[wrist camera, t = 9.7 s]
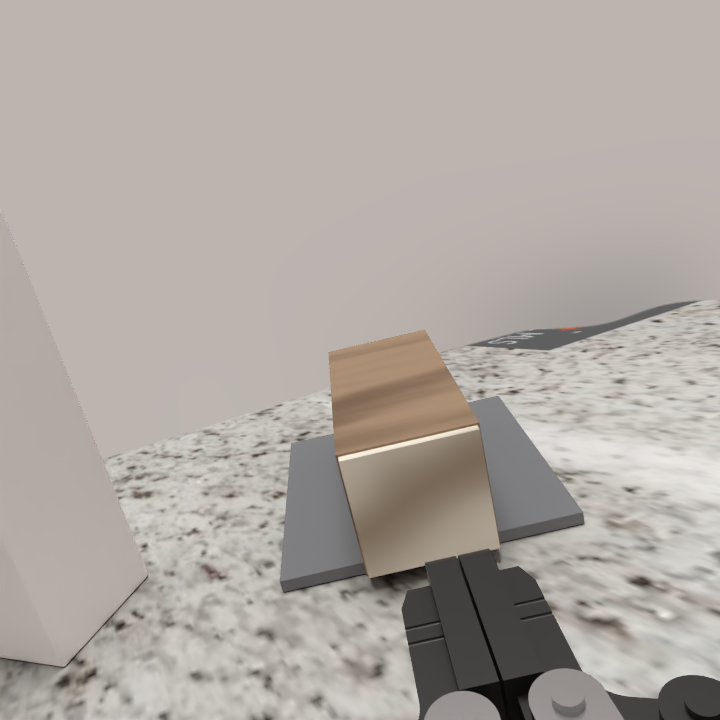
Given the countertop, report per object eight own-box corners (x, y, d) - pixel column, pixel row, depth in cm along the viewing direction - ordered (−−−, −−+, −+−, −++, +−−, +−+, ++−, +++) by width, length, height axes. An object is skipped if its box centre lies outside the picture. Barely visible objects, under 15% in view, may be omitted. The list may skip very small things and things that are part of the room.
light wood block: (481, 426, 25) (424, 329, 39) (335, 460, 25) (328, 352, 39) (503, 549, 27) (441, 417, 40) (367, 580, 27) (350, 438, 41)
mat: (584, 523, 29) (583, 512, 28) (283, 592, 29) (280, 581, 29) (499, 403, 42) (498, 395, 42) (293, 451, 42) (291, 443, 42)
